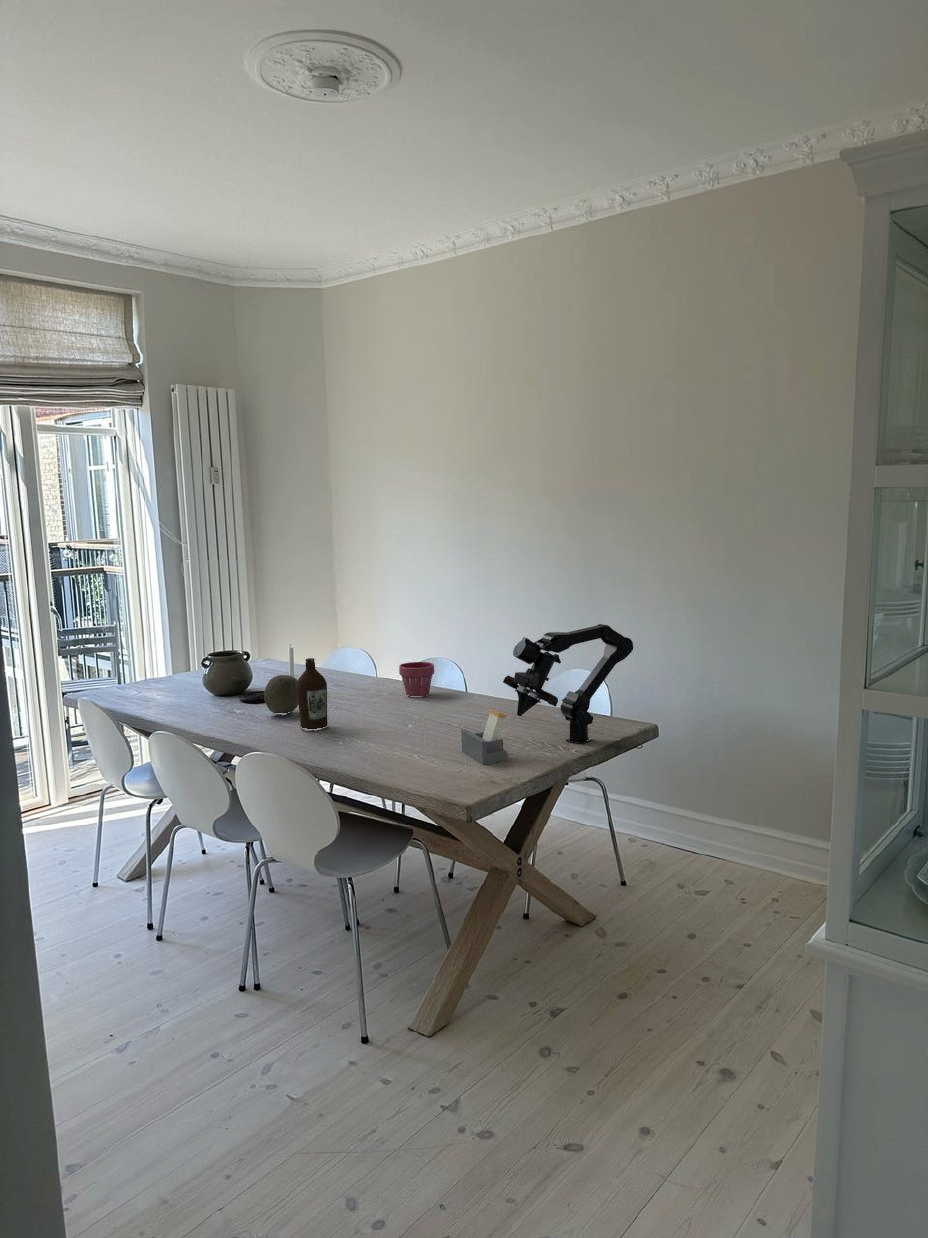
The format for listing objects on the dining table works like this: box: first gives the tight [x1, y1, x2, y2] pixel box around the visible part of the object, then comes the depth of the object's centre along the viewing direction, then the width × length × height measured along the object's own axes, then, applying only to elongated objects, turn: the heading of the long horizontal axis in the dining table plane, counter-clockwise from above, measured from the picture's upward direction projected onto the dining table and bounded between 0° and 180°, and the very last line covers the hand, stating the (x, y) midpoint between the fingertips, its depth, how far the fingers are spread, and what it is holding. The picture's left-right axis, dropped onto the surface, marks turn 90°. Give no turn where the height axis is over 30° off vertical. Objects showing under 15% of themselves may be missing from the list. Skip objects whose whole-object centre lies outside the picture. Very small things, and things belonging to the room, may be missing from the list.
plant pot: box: [398, 661, 435, 697], centre depth 353 cm, size 14×14×13 cm
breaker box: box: [460, 728, 508, 765], centre depth 266 cm, size 8×16×7 cm, turn 23°
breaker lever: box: [482, 708, 507, 741], centre depth 267 cm, size 3×7×10 cm, turn 22°
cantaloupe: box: [263, 674, 299, 714], centre depth 330 cm, size 14×14×15 cm
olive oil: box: [296, 657, 329, 729], centre depth 306 cm, size 11×11×25 cm
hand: (518, 715), depth 269 cm, fingers closed
